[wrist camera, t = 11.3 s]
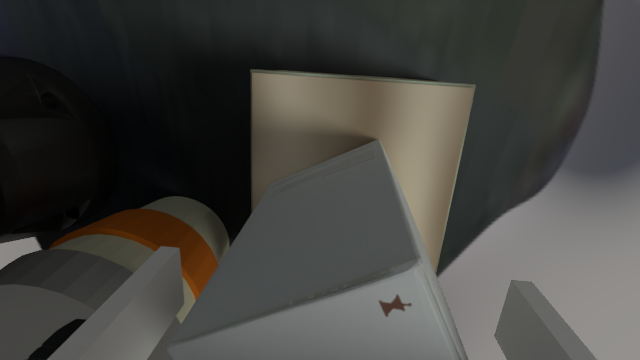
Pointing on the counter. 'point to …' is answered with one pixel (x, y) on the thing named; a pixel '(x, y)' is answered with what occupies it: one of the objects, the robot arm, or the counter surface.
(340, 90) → the maple box
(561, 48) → the counter surface
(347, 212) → the supplement box
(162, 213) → the reusable coffee cup
